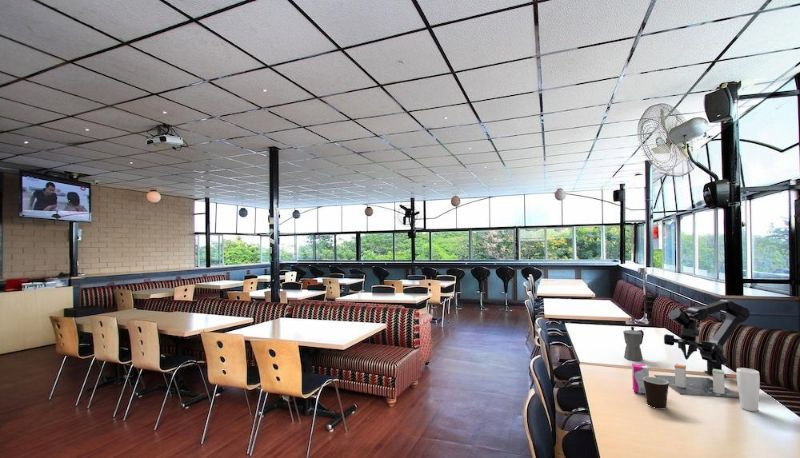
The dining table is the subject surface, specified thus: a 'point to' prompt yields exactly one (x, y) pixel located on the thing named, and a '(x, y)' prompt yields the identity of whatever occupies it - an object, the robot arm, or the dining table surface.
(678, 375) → the terracotta slider
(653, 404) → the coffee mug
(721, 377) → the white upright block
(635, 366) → the supplement box
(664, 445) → the dining table surface
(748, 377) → the white rounded cylinder
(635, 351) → the coffeepot
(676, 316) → the robot arm
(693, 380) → the switch panel
